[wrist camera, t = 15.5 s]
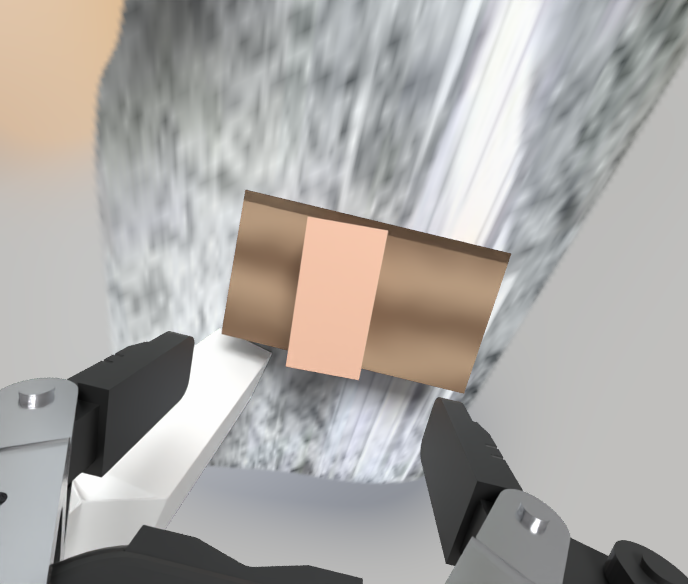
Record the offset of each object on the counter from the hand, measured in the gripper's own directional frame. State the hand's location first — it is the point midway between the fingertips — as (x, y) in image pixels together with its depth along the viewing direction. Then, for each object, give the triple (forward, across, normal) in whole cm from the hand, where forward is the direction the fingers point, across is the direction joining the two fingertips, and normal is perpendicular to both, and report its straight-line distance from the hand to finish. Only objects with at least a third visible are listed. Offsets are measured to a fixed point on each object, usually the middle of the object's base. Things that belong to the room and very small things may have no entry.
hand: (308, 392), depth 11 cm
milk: (+22, +9, +12) cm, 27 cm away
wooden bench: (+22, -2, 0) cm, 22 cm away
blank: (+16, 0, 0) cm, 16 cm away
